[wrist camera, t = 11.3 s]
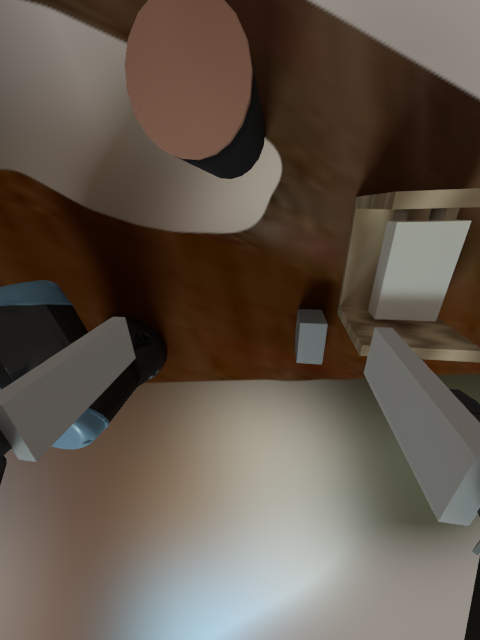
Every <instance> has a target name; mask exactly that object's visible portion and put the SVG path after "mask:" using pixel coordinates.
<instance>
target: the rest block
mask: <svg viewBox="0 0 480 640" xmlns="http://www.w3.org/2000/svg"><path fill="white" fill-rule="evenodd" d="M327 325H328V324H327V321H326V319H325V316H324V314H323V311H322V310H310V309H298V312H297V324H296V337H295V352H296V362H297V363H309V364H322V360H323V353H324V346H325V339H326V332H327Z"/></svg>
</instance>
